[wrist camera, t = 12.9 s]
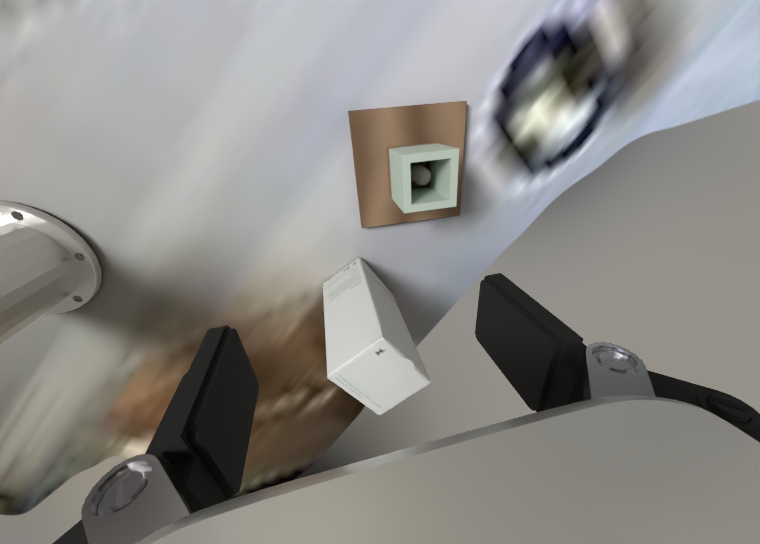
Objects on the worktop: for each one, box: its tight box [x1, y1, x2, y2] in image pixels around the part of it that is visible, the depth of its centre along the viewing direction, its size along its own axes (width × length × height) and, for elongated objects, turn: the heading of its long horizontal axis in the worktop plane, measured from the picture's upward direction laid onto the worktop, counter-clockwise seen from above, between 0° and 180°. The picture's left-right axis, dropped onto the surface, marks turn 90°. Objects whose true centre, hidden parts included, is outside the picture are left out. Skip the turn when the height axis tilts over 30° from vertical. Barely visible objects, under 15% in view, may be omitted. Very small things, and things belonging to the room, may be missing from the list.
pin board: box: [348, 101, 467, 228], centre depth 30 cm, size 12×12×6 cm
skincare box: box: [323, 258, 431, 415], centre depth 32 cm, size 8×7×16 cm
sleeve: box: [386, 142, 459, 213], centre depth 28 cm, size 5×5×7 cm
